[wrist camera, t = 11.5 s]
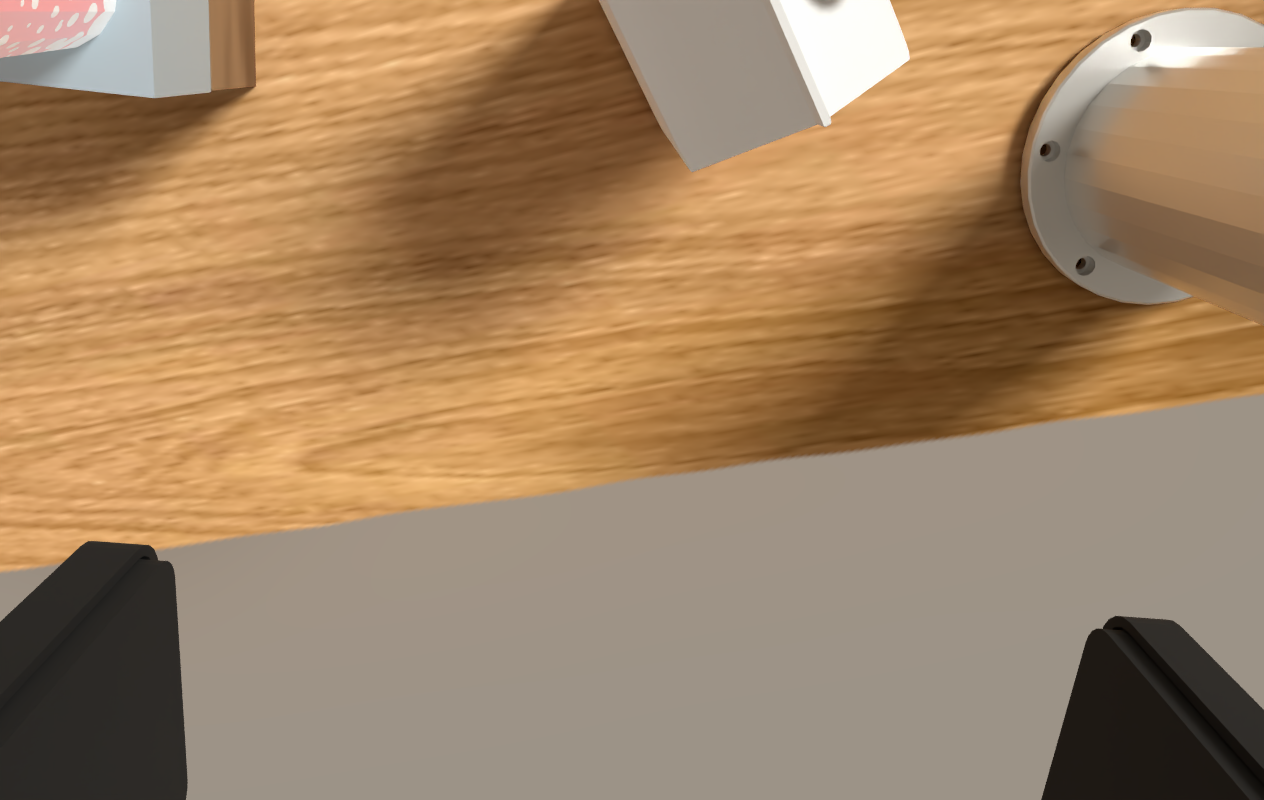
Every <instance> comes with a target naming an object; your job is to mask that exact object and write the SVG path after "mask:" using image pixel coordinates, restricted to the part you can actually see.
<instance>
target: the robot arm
mask: <svg viewBox="0 0 1264 800" xmlns="http://www.w3.org/2000/svg"><path fill="white" fill-rule="evenodd" d="M1133 35H1134V36H1135V38H1136V41H1135V43H1134V45H1133V46H1132V47H1131V38H1132V36H1133ZM1043 144H1045V145H1046V146H1047V150H1046V152H1045V153H1044V154H1043V155H1040V149H1041V147H1042V145H1043ZM1020 184H1021V193H1022V202H1023V210H1024V213H1025V216H1026V219H1027V222H1028V225H1029V228H1030V231H1031V234H1032V236H1033V237H1034V239H1035V241H1036V242H1037V244H1038V246H1039V248H1040V249H1041V251H1042V253H1043V255H1044V256H1045V257H1046V258H1047V259H1048V260H1049V261H1050V262H1051V263H1052V264H1053V265H1054V267H1055V268H1056V269H1057V270H1058V271H1059V272H1060V273H1062V274H1063V275H1064V276H1066V277H1067V278H1069V279H1070V280H1072V281H1073V282H1074V283H1076V284H1077V285H1079V286H1080V287H1083V288H1085V289H1087V290H1089V291H1091V292H1093V293H1095V294H1097V295H1099V296H1102V297H1106V298H1109V299H1112V300H1116V301H1119V302H1123V303H1134V304H1145V305H1151V304H1161V303H1171V302H1177V301H1180V300H1184V299H1187V298H1191V297H1197V298H1199V299H1202V300H1204V301H1206V302H1209V303H1211V304H1214V305H1216V306H1218V307H1221V308H1223V309H1225V310H1228V311H1230V312H1233V313H1235V314H1237V315H1240V316H1242V317H1245V318H1247V319H1249V320H1252V321H1254V322H1256V323H1259V324H1261V325H1264V24H1262V23H1259V22H1257V21H1255V20H1253V19H1251V18H1249V17H1247V16H1245V15H1243V14H1240V13H1235V12H1231V11H1226V10H1221V9H1217V8H1180V9H1172V10H1163V11H1158V12H1155V13H1152V14H1148V15H1145V16H1142V17H1139V18H1135V19H1132V20H1130V21H1128V22H1126V23H1124V24H1122V25H1120V26H1118V27H1116V28H1115V29H1113V30H1111V31H1109V32H1107V33H1105V34H1104V35H1102V36H1101V37H1100V38H1098V39H1097V40H1096V41H1094V42H1093V43H1092V44H1090V45H1089V46H1088V47H1086V48H1085V49H1084V50H1082V51H1081V52H1080V53H1079V54H1078V55H1077V56H1076V57H1075V58H1074V59H1073V60H1072V61H1071V63H1070V64H1069V65H1068V66H1067V67H1066V68H1065V69H1064V70H1063V71H1062V72H1061V73H1060V74H1059V76H1058V77H1057V78H1056V80H1055V81H1054V83H1053V84H1052V86H1051V87H1050V89H1049V90H1048V92H1047V93H1046V95H1045V96H1044V98H1043V99H1042V101H1041V103H1040V106H1039V108H1038V110H1037V112H1036V114H1035V116H1034V119H1033V121H1032V123H1031V125H1030V128H1029V132H1028V136H1027V139H1026V143H1025V147H1024V151H1023V154H1022V167H1021V179H1020ZM1080 258H1081V264H1080V265H1079V266H1078V267H1076V263H1077V261H1078V260H1079V259H1080ZM186 795H187V765H186V748H185V732H184V716H183V700H182V684H181V667H180V651H179V634H178V618H177V603H176V586H175V574H174V569H173V566H172V564H171V563H170V562H168V561H158V558H157V555H156V553H155V550H154V549H153V548H152V547H151V546H150V545H139V544H125V543H111V542H98V541H88V542H86V543H85V544H83V545H82V546H80V547H79V548H78V549H77V550H76V551H75V552H74V553H73V554H72V555H71V556H70V557H69V558H68V559H67V560H66V561H65V562H63V563H62V564H61V565H60V566H59V567H58V568H57V569H56V570H55V571H54V572H53V573H52V574H51V575H50V576H49V577H48V578H47V579H45V580H44V581H43V582H42V583H41V584H40V585H39V586H38V587H37V588H36V589H35V590H34V591H33V592H32V593H31V594H29V595H28V596H27V597H26V598H25V599H24V600H23V601H22V602H21V603H20V604H19V605H18V606H17V607H16V608H15V609H13V610H12V611H11V612H10V613H9V614H8V615H7V616H6V617H5V618H4V619H3V620H2V621H1V622H0V800H186ZM1041 800H1264V710H1263V709H1262V708H1261V707H1260V706H1259V705H1258V704H1257V703H1256V702H1255V701H1254V700H1253V699H1252V698H1251V697H1250V696H1249V695H1248V694H1247V693H1246V692H1245V691H1244V690H1243V689H1242V688H1241V687H1240V685H1239V684H1238V683H1236V681H1234V680H1233V679H1232V677H1231V676H1230V675H1228V674H1227V672H1225V670H1224V669H1223V668H1222V667H1221V666H1220V665H1219V664H1218V663H1217V662H1215V660H1214V659H1213V658H1212V657H1211V656H1210V655H1209V654H1208V653H1207V652H1206V651H1205V650H1204V649H1203V648H1202V647H1200V645H1199V644H1198V643H1197V642H1196V641H1195V640H1194V639H1193V638H1192V637H1191V636H1189V634H1188V633H1187V632H1186V631H1185V630H1184V629H1183V628H1182V627H1181V626H1180V625H1178V624H1177V623H1175V622H1174V621H1171V620H1163V619H1149V618H1136V617H1122V616H1115V617H1113V618H1111V619H1109V620H1108V621H1107V623H1106V624H1105V625H1104V627H1103V629H1095V630H1093V631H1092V632H1091V634H1090V635H1089V636H1088V638H1087V641H1086V644H1085V647H1084V650H1083V654H1082V658H1081V661H1080V665H1079V668H1078V672H1077V675H1076V679H1075V682H1074V686H1073V690H1072V693H1071V697H1070V700H1069V704H1068V707H1067V711H1066V714H1065V718H1064V722H1063V725H1062V728H1061V732H1060V736H1059V739H1058V743H1057V746H1056V750H1055V753H1054V757H1053V760H1052V764H1051V767H1050V771H1049V775H1048V778H1047V782H1046V785H1045V789H1044V792H1043V796H1042V799H1041Z"/></svg>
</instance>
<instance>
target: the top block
mask: <svg viewBox="0 0 1264 800" xmlns="http://www.w3.org/2000/svg"><path fill="white" fill-rule="evenodd" d="M0 81H2V82H12V83H21V84H30V85H39V86H48V87H57V88H66V89H75V90H84V91H93V92H103V93H112V94H121V95H130V96H139V97H148V98H161V97H171V96H181V95H190V94H200V93H210V92H211V78H210V41H209V4H208V0H116V7H115V12H114V14H113V15H112V17H111V18H110V20H109V21H108V23H107V24H106V26H105V27H104V29H103V30H102V32H101V33H100V34H99V35H98V36H96V37H94V38H92V39H91V40H89V41H87V42H85V43H84V44H82V45H80V46H79V47H76V48H68V49H61V50H54V51H46V52H39V53H32V54H25V55H17V56H10V57H3V58H0Z"/></svg>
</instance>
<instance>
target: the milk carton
mask: <svg viewBox="0 0 1264 800" xmlns="http://www.w3.org/2000/svg"><path fill="white" fill-rule="evenodd" d="M599 2H600V4H601V6H602V8H603V10H604V13H605V15H606V17H607V19H608V21H609V23H610V25H611V27H612V29H613V31H614V33H615V35H616V37H617V39H618V41H619V43H620V45H621V47H622V50H623V52H624V54H625V56H626V58H627V60H628V62H629V64H630V66H631V68H632V70H633V72H634V74H635V76H636V78H637V80H638V82H639V85H640V87H641V89H642V91H643V93H644V95H645V97H646V99H647V101H648V103H649V105H650V107H651V109H652V111H653V113H654V115H655V117H656V119H657V121H658V123H659V125H660V127H661V129H662V131H663V132H664V133H665V135H666V136H667V138H668V139H669V141H670V142H671V144H672V145H673V147H674V148H675V149H676V151H677V152H678V154H679V155H680V157H681V158H682V160H683V161H684V163H685V164H686V165H687V167H688V168H689V170H690V171H691V172H694V171H697V170H699V169H702V168H705V167H707V166H710V165H712V164H715V163H718V162H720V161H723V160H726V159H728V158H731V157H733V156H736V155H739V154H741V153H744V152H747V151H749V150H752V149H754V148H757V147H760V146H762V145H765V144H768V143H770V142H773V141H775V140H778V139H781V138H783V137H786V136H789V135H791V134H794V133H796V132H799V131H802V130H804V129H807V128H810V127H812V126H815V125H817V124H818V125H821V126H824V127H827V126H829V125H831V118H830V116H832V115H833V114H834V113H836V112H837V111H839V110H840V109H841V108H843V107H844V106H846V105H847V104H848V103H850V102H851V101H853V100H854V99H855V98H857V97H858V96H859V95H861V94H862V93H864V92H865V91H866V90H868V89H869V88H871V87H872V86H873V85H875V84H876V83H878V82H879V81H880V80H882V79H883V78H885V77H886V76H887V75H889V74H890V73H892V72H893V71H894V70H896V69H897V68H899V67H900V66H901V65H903V64H904V63H905V62H907V61H908V60H909V59H910V57H909V51H908V48H907V45H906V42H905V39H904V36H903V34H902V31H901V28H900V26H899V23H898V20H897V18H896V15H895V13H894V10H893V7H892V5H891V2H890V0H599Z"/></svg>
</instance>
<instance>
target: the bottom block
mask: <svg viewBox="0 0 1264 800" xmlns="http://www.w3.org/2000/svg"><path fill="white" fill-rule="evenodd" d="M208 4H209V41H210V78H211V91H213V90H224V89H234V88H244V87H254V86H256V68H255V22H254V0H208Z"/></svg>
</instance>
